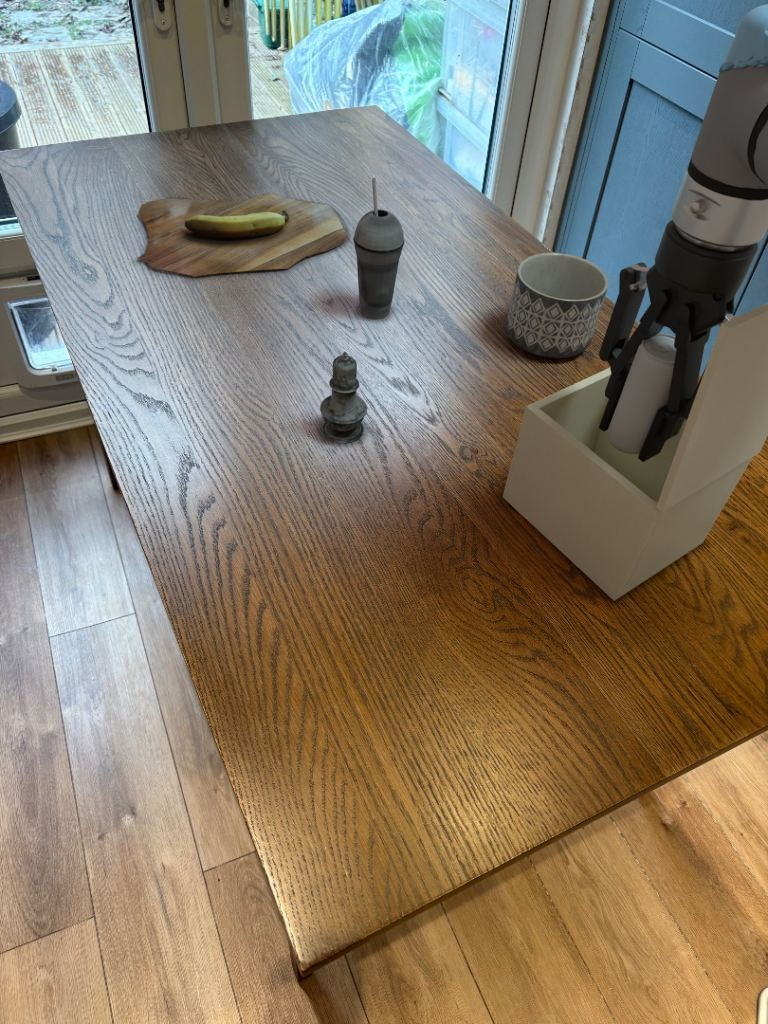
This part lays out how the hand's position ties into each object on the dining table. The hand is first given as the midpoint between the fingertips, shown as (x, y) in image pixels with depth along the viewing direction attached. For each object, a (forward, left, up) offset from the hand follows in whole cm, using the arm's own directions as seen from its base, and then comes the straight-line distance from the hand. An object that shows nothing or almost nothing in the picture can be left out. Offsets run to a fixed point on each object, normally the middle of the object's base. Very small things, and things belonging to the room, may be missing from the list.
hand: (629, 439), depth 79 cm
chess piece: (+29, +17, -12) cm, 35 cm away
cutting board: (+80, +4, -12) cm, 81 cm away
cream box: (0, 0, -12) cm, 12 cm away
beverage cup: (+49, -2, -12) cm, 50 cm away
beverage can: (0, 0, -1) cm, 1 cm away
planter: (+30, -20, -12) cm, 38 cm away
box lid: (-8, 0, +12) cm, 14 cm away
